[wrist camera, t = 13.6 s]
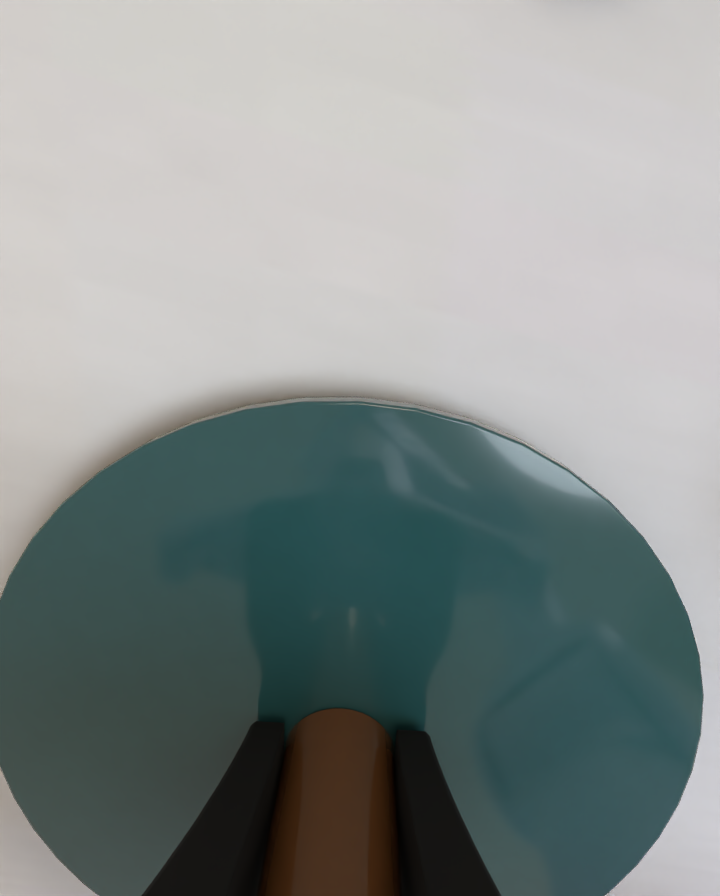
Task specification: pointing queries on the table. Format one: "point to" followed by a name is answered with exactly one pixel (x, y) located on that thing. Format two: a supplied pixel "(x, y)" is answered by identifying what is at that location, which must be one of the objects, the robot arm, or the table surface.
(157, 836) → the lid
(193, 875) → the robot arm
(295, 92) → the table surface
